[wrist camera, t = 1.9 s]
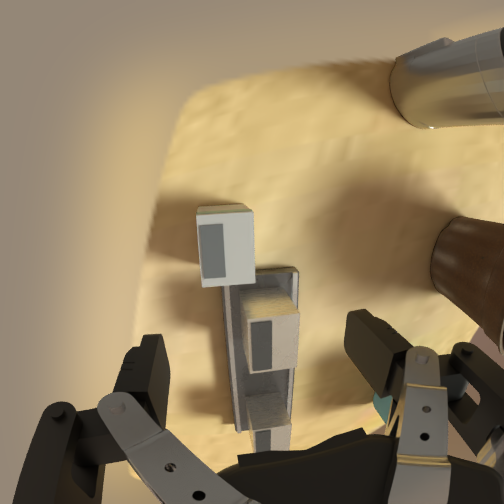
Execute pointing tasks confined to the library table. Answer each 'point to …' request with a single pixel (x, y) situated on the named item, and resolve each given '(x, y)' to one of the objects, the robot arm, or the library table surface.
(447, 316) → the library table surface
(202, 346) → the library table surface
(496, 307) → the plant pot
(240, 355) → the rail
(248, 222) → the block
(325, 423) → the library table surface
